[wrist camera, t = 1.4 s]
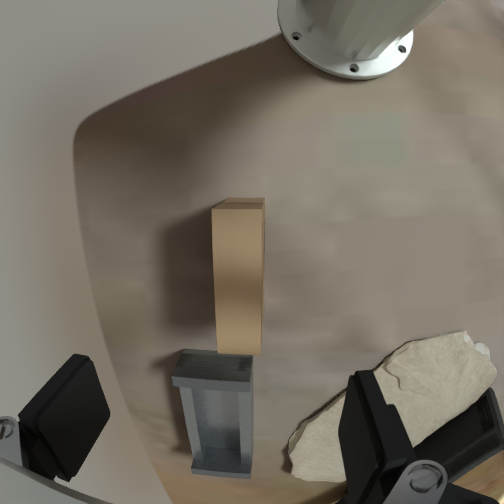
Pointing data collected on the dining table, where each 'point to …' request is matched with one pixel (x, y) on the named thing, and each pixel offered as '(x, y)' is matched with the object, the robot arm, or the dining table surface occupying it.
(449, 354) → the stone tablet
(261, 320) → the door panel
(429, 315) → the dining table surface
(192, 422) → the grey open holder
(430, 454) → the magazine
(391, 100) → the dining table surface
